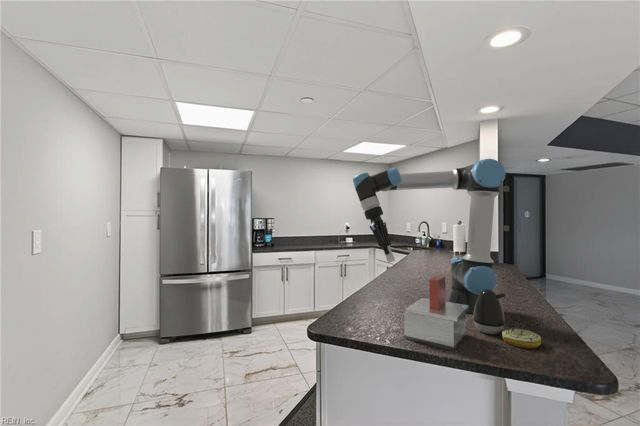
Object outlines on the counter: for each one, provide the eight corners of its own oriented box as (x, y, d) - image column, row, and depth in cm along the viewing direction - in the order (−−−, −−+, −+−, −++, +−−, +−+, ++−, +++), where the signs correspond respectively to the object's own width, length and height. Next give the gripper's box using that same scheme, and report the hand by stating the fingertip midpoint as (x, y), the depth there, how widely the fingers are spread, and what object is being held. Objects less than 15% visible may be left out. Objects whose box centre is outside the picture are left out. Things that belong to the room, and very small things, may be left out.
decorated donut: (507, 334, 109) (507, 324, 109) (544, 343, 101) (544, 332, 101) (498, 343, 101) (498, 331, 102) (537, 353, 94) (537, 341, 94)
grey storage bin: (404, 338, 106) (404, 311, 106) (420, 324, 118) (420, 301, 118) (453, 350, 96) (453, 321, 96) (465, 334, 108) (465, 309, 109)
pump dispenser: (505, 339, 104) (505, 294, 104) (471, 333, 110) (471, 290, 110) (506, 330, 113) (505, 288, 113) (474, 324, 118) (474, 285, 118)
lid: (405, 311, 105) (405, 278, 105) (422, 301, 118) (422, 271, 118) (457, 321, 95) (456, 285, 95) (469, 308, 108) (468, 276, 108)
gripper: (370, 211, 139) (388, 261, 135) (357, 212, 128) (377, 266, 124) (385, 204, 135) (404, 256, 131) (373, 205, 124) (394, 262, 120)
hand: (391, 261), depth 128 cm, fingers closed
